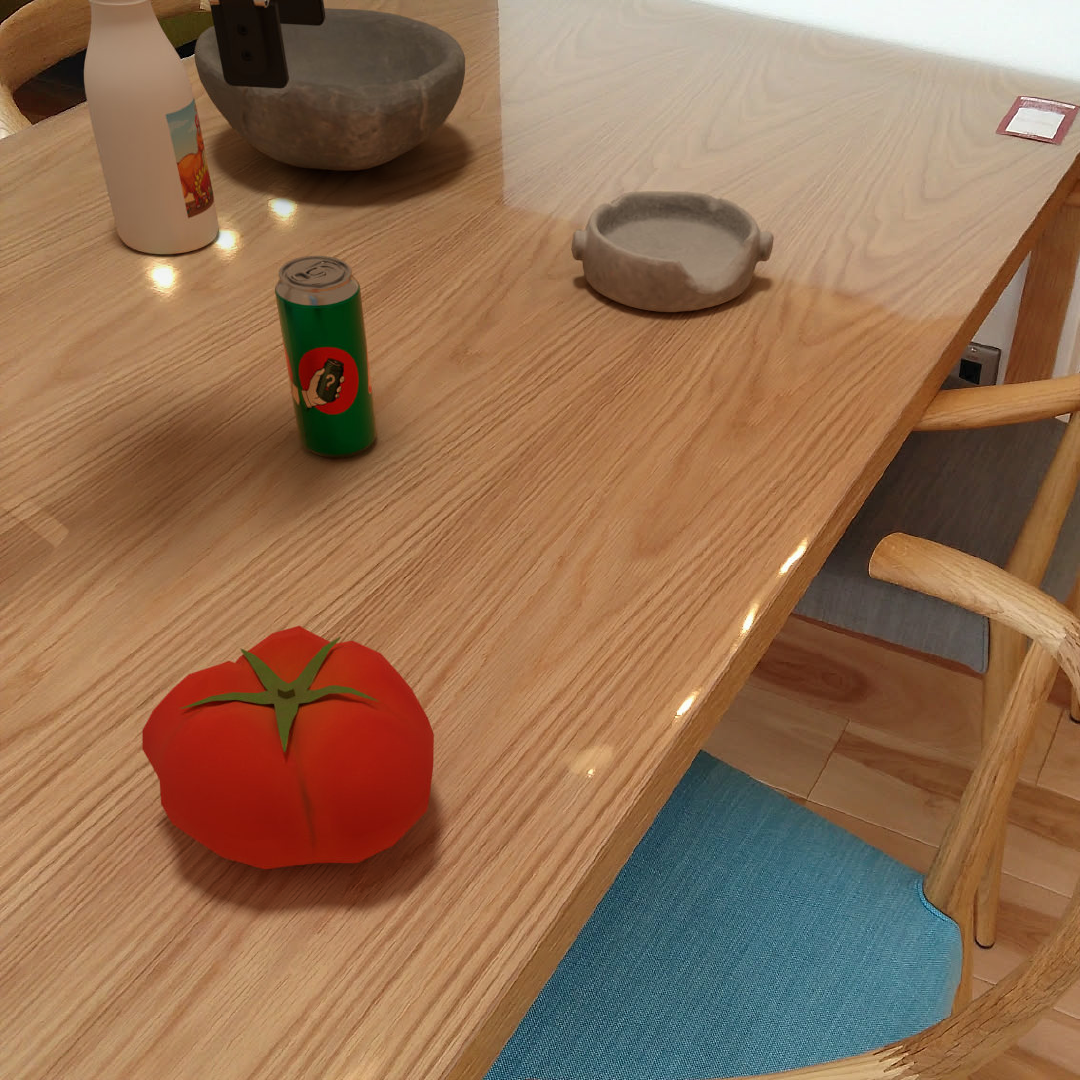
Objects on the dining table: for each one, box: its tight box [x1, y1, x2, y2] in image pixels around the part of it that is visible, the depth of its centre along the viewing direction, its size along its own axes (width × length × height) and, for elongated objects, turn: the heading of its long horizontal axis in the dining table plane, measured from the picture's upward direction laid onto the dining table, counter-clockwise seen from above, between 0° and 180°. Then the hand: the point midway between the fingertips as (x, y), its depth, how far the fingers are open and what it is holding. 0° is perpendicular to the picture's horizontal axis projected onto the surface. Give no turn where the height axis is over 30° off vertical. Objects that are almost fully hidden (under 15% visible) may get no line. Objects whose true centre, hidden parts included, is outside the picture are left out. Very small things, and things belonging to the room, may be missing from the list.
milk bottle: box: [83, 0, 220, 255], centre depth 104 cm, size 8×8×20 cm
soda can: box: [274, 255, 378, 459], centre depth 88 cm, size 5×5×12 cm
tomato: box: [141, 625, 435, 870], centre depth 66 cm, size 14×13×9 cm
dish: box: [571, 190, 775, 313], centre depth 111 cm, size 14×14×5 cm
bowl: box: [194, 7, 466, 172], centre depth 122 cm, size 23×22×10 cm
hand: (278, 52), depth 75 cm, fingers open, 9 cm apart
